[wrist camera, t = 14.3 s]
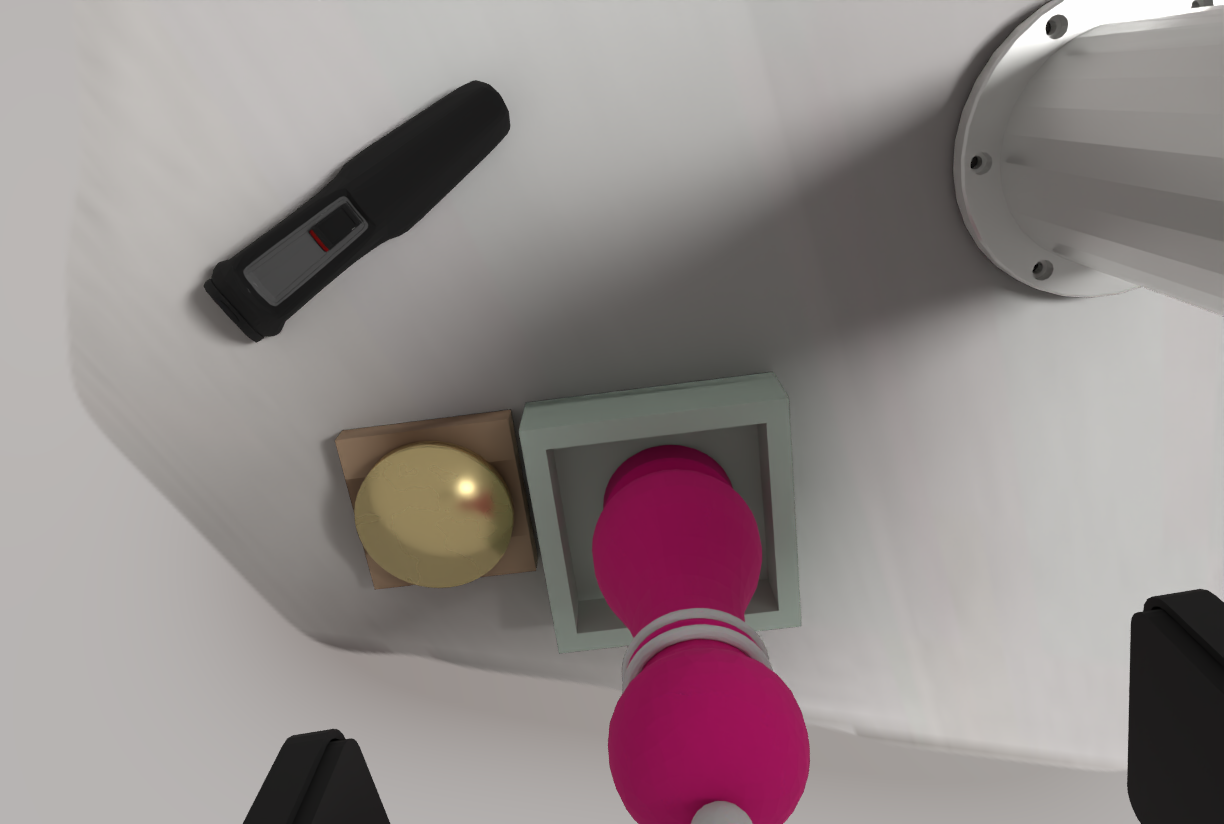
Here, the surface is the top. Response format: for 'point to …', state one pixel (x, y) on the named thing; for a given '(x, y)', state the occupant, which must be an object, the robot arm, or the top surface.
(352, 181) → the electric trimmer
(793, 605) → the trough tray
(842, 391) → the top surface
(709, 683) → the pepper mill
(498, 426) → the checker plinth
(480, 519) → the gold disc
